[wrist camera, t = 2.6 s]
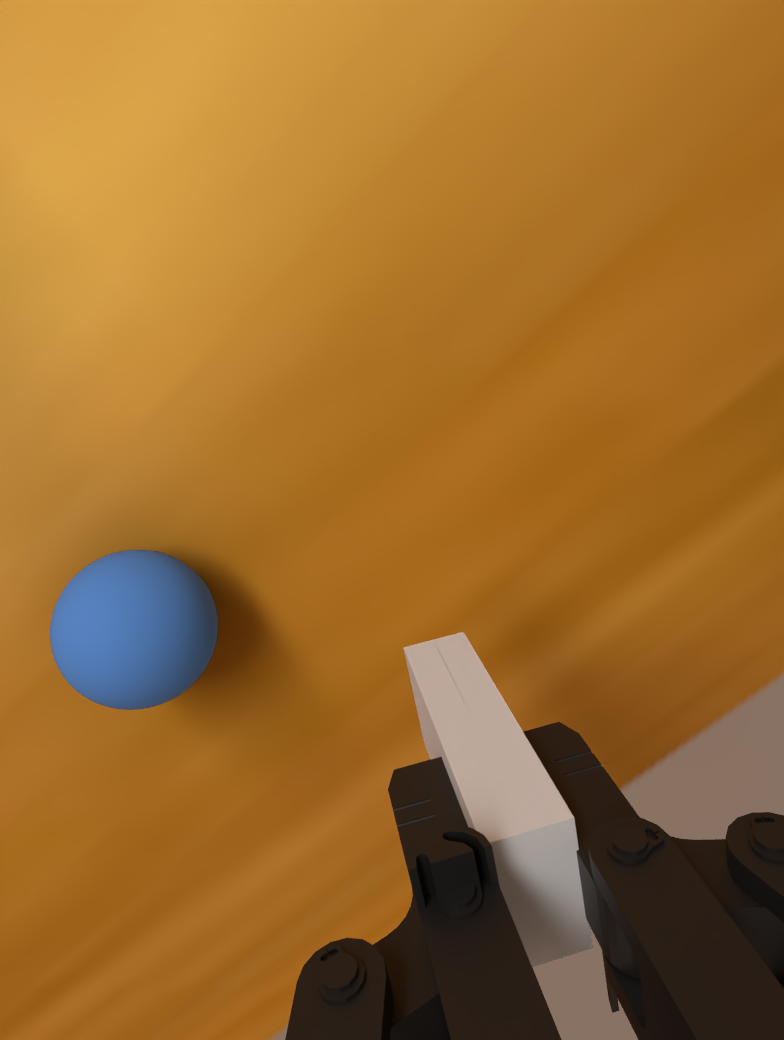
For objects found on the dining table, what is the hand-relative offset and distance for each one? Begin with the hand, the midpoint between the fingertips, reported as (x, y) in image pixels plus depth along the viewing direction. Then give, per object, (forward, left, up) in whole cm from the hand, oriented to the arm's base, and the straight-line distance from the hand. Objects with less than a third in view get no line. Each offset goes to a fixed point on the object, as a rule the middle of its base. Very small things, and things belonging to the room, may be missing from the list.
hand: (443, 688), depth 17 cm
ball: (+8, +4, -9) cm, 13 cm away
